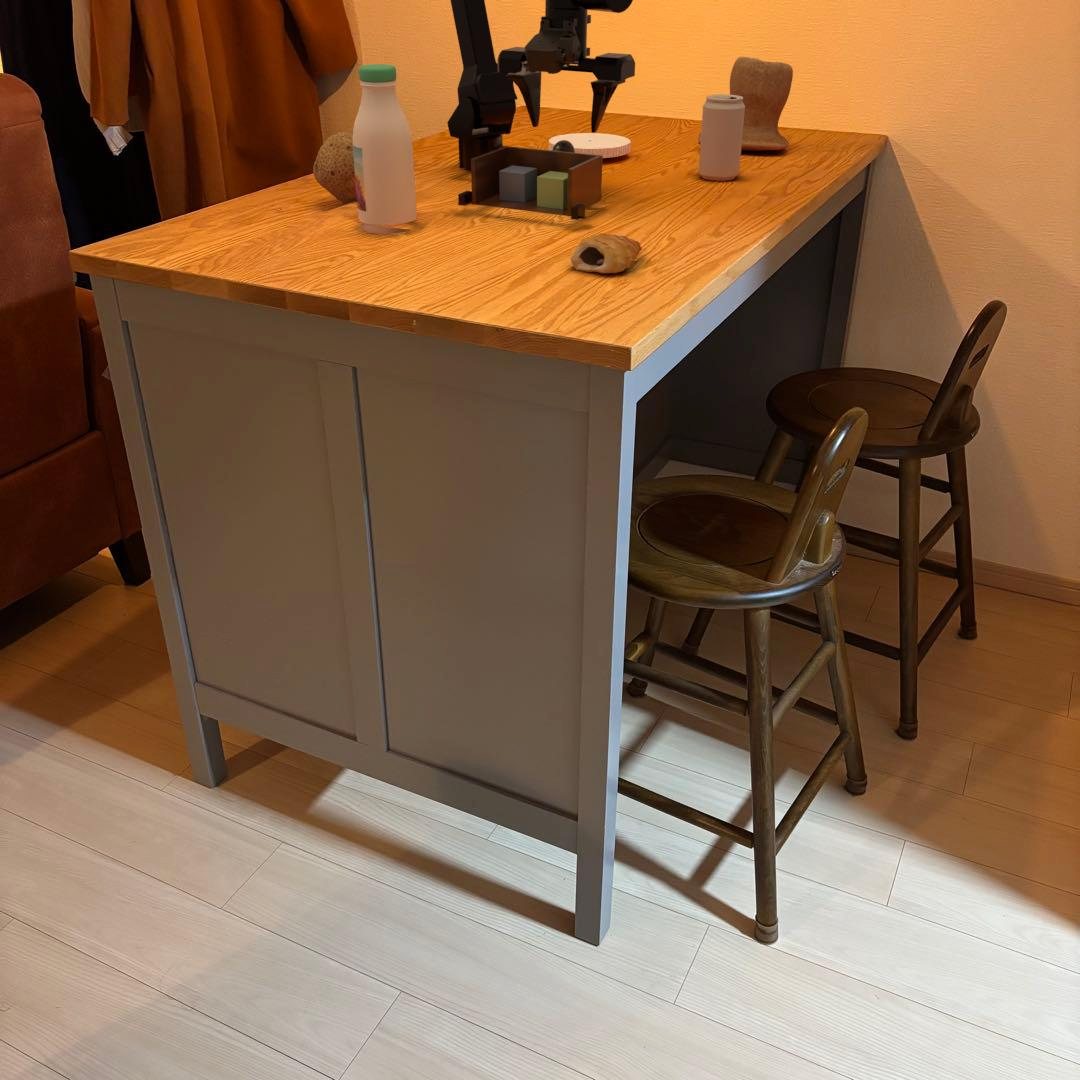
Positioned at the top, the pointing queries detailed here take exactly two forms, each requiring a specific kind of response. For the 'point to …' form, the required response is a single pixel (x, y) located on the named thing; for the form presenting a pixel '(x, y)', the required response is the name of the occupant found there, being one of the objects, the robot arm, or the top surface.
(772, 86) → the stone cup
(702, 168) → the beverage can
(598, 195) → the bin
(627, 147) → the plastic lid
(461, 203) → the pivot brackets
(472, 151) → the robot arm
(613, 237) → the pastry
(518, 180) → the slate block
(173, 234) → the top surface
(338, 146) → the natural sponge
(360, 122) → the milk bottle
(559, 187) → the sage block
